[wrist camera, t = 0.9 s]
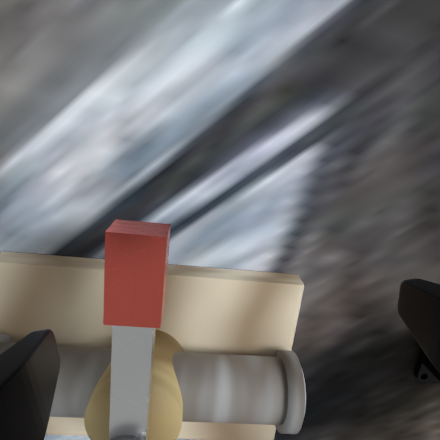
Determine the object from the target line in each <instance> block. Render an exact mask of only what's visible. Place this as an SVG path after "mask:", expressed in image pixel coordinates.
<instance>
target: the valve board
mask: <svg viewBox="0 0 440 440" xmlns="http://www.w3.org/2000/svg"><path fill="white" fill-rule="evenodd" d="M104 265H105V259H94V258H82V257H69V256H56V255H43V254H31V253H18V252H5V251H2V252H1V253H0V354H1V353H3V352H4V351H5V350H7V349H8V348H10V347H11V346H13V345H14V344H15V343H17V342H18V341H20V340H21V339H22V338H24V337H25V336H27V335H28V334H29V333H31V332H33V331H37V330H45V329H50V330H52V331H53V333H54V336H55V339H56V343H57V347H58V351H59V354H60V360H61V364H60V370H59V375H58V380H57V384H56V389H55V394H54V399H53V403H52V408H51V413H50V418H49V422H48V426H47V430H46V434H52V435H83V436H89V438H90V439H91V440H109V421H110V387H111V353H112V325H103V312H104ZM303 289H304V284H303V283H302V281H301V279H300V278H299V276H298V275H297V274H286V273H273V272H260V271H248V270H235V269H222V268H209V267H197V266H184V265H171V264H168V267H167V280H166V294H165V307H164V312H163V318H162V323H161V328H156V331H155V346H154V360H153V375H152V389H151V404H150V418H149V432H148V440H176V439H205V440H274V436H275V431H276V429H277V430H278V432H279V433H281V434H297V433H298V432H299V431H300V429H301V427H302V424H303V419H304V415H305V409H306V387H305V379H304V374H303V370H302V367H301V365H300V362H299V359H298V357H297V355H296V354H295V352H293V351H291V350H292V345H293V340H294V335H295V329H296V324H297V319H298V314H299V309H300V304H301V299H302V294H303Z"/></svg>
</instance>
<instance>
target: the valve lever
mask: <svg viewBox="0 0 440 440" xmlns="http://www.w3.org/2000/svg"><path fill="white" fill-rule="evenodd" d="M170 228H171V224H161V223H150V222H139V221H127V220H115V221H114V222H113V223H112V224H111V226H110V227H109V228H108V229H107V230H106V231H105V265H104V312H103V325H112V353H111V387H110V421H109V440H148V432H149V418H150V404H151V389H152V375H153V360H154V346H155V331H156V328H161V323H162V318H163V312H164V307H165V294H166V280H167V267H168V254H169V241H170Z"/></svg>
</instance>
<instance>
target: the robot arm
mask: <svg viewBox="0 0 440 440" xmlns="http://www.w3.org/2000/svg"><path fill="white" fill-rule="evenodd" d="M398 313H399V315H400V317H401V318H402V320H403V321H404V323H405V324H406V326H407V327H408V329H409V330H410V332H411V333H412V335H413V336H414V338H415V339H416V341H417V342H418V344H419V345H420V346H421V348H422V349H421V352H420V356H419V359H418V362H417V365H416V368H415V371H414V376H415V377H416V378H417V380H418V381H419V382H422V383H440V285H439V284H436V283H432V282H429V281H425V280H422V279H410V280H404V281H403V282H402V283H401V285H400V292H399V299H398ZM60 364H61V360H60V354H59V351H58V347H57V343H56V339H55V336H54V333H53V331H52V330H50V329H45V330H37V331H33V332H31V333H29V334H28V335H27V336H25V337H24V338H22V339H21V340H20V341H18V342H17V343H15V344H14V345H13V346H11V347H10V348H8V349H7V350H5V351H4V352H3V353H1V354H0V440H44V437H45V434H46V430H47V426H48V422H49V418H50V413H51V408H52V403H53V399H54V394H55V389H56V384H57V380H58V375H59V370H60Z"/></svg>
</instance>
